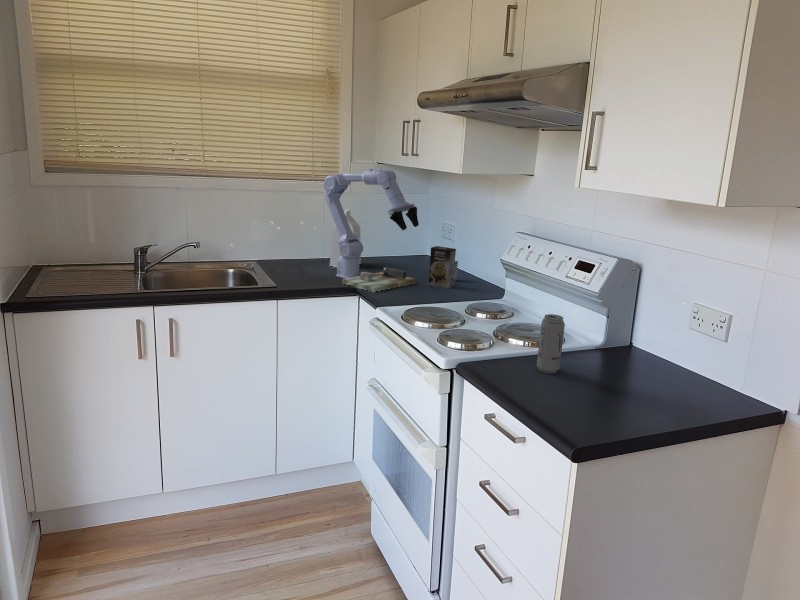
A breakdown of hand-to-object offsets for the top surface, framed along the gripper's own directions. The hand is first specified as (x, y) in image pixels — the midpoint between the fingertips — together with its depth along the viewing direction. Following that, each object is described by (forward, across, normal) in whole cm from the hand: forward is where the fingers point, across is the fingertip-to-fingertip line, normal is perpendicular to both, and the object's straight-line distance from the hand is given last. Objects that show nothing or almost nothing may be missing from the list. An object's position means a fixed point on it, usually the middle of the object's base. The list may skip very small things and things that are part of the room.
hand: (410, 227), depth 242 cm
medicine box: (+24, +23, +14) cm, 36 cm away
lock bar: (+13, +1, +21) cm, 24 cm away
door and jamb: (+13, -6, +24) cm, 28 cm away
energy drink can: (+64, -45, -59) cm, 98 cm away
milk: (-5, +9, +55) cm, 56 cm away
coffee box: (+25, +12, +10) cm, 30 cm away
